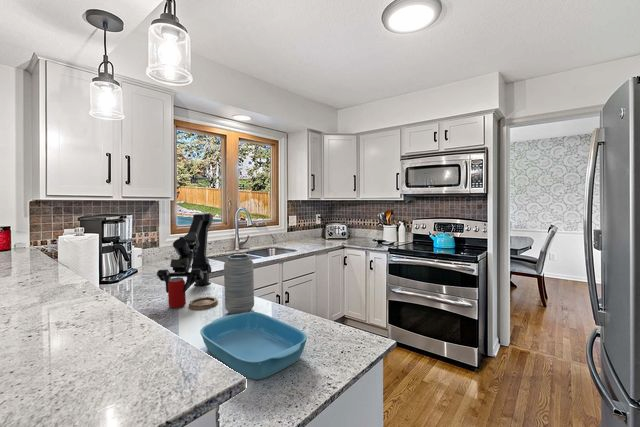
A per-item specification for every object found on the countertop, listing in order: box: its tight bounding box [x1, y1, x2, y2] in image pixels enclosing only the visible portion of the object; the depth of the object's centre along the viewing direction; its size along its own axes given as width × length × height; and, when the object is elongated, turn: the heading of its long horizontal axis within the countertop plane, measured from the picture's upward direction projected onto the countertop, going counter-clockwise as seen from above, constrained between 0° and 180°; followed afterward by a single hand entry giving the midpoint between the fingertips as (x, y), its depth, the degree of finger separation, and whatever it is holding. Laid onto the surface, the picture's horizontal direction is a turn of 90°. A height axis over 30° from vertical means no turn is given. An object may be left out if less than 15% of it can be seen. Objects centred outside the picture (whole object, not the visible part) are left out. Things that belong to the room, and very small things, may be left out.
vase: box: [223, 253, 255, 315], centre depth 126 cm, size 12×12×23 cm
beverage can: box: [167, 277, 187, 309], centre depth 133 cm, size 7×7×12 cm
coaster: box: [188, 296, 219, 311], centre depth 135 cm, size 12×12×2 cm
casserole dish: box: [199, 311, 308, 380], centre depth 93 cm, size 37×22×7 cm, turn 46°
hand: (175, 292), depth 132 cm, fingers closed on beverage can, 7 cm apart
